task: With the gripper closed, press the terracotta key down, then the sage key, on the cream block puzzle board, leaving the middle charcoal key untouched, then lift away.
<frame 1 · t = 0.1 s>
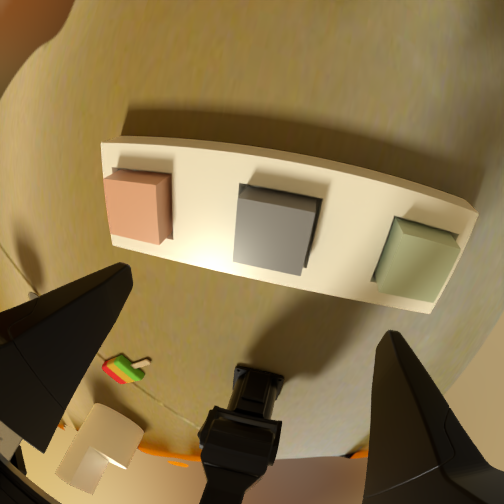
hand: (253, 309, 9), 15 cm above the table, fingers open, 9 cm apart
charcoal key: (274, 230, 20), point 3 cm above the table, slide at 0.0 cm
cylinder: (118, 419, 68), on the table
popsicle: (130, 363, 44), on the table
cream block puzzle board: (280, 212, 23), on the table
sage key: (416, 261, 19), point 3 cm above the table, slide at 0.0 cm
terracotta key: (138, 205, 22), point 3 cm above the table, slide at 0.0 cm
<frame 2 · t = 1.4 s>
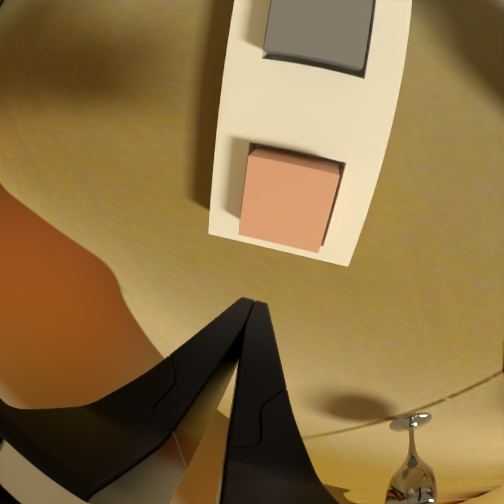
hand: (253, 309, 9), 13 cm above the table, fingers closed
charcoal key: (320, 20, 11), point 3 cm above the table, slide at 0.0 cm
cream block puzzle board: (320, 31, 14), on the table
wine glass: (410, 421, 34), on the table
terracotta key: (288, 198, 17), point 3 cm above the table, slide at 0.0 cm
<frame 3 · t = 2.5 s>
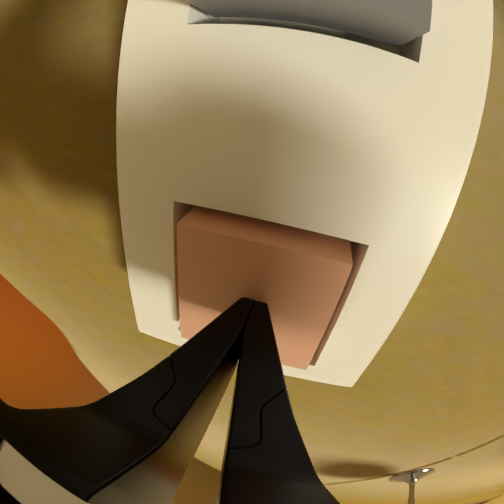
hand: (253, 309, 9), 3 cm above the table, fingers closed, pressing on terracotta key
wine glass: (412, 474, 26), on the table
terracotta key: (258, 286, 10), point 2 cm above the table, slide at 1.1 cm, touching gripper
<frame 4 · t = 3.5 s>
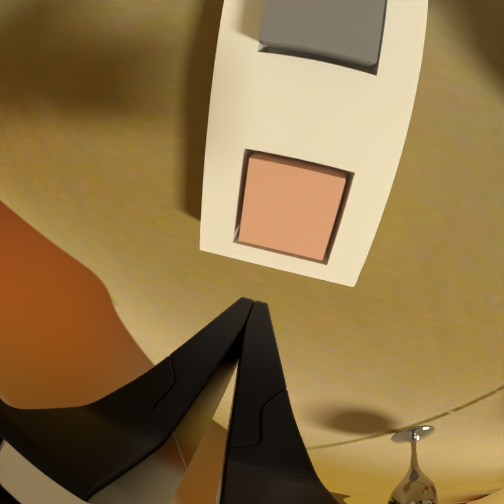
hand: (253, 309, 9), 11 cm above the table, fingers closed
charcoal key: (325, 7, 9), point 3 cm above the table, slide at 0.0 cm
cream block puzzle board: (325, 22, 12), on the table
wine glass: (413, 434, 32), on the table
terracotta key: (291, 203, 16), point 2 cm above the table, slide at 1.5 cm
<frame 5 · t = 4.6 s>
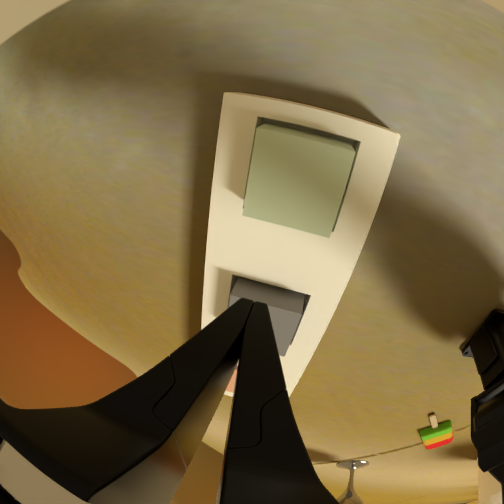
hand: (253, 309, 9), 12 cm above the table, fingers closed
charcoal key: (263, 317, 22), point 3 cm above the table, slide at 0.0 cm
cylinder: (503, 446, 36), on the table
popsicle: (435, 425, 33), on the table
cream block puzzle board: (270, 290, 24), on the table
wine glass: (352, 464, 45), on the table
sage key: (297, 177, 15), point 3 cm above the table, slide at 0.0 cm
terracotta key: (247, 375, 29), point 2 cm above the table, slide at 1.5 cm
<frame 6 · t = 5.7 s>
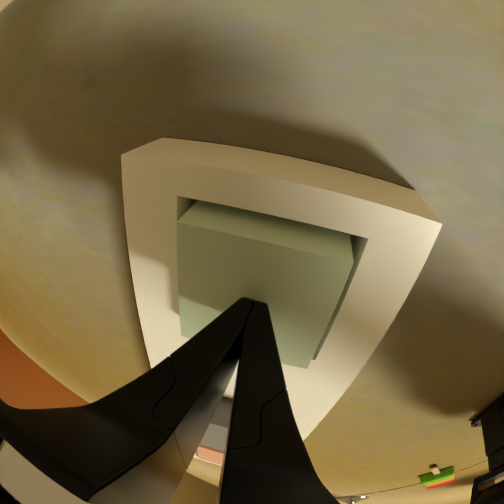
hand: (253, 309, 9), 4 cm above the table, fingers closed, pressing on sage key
charcoal key: (230, 424, 15), point 3 cm above the table, slide at 0.0 cm
popsicle: (438, 469, 26), on the table
cream block puzzle board: (242, 384, 18), on the table
wine glass: (351, 498, 38), on the table
sage key: (259, 284, 10), point 2 cm above the table, slide at 0.9 cm, touching gripper
terracotta key: (226, 449, 23), point 2 cm above the table, slide at 1.5 cm
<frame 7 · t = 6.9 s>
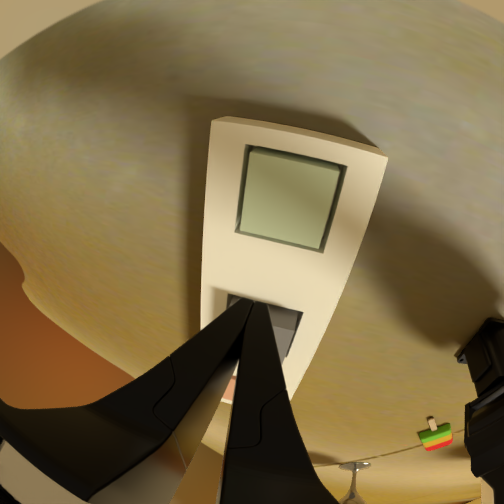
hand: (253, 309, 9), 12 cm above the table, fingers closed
charcoal key: (258, 332, 22), point 3 cm above the table, slide at 0.0 cm
popsicle: (435, 428, 33), on the table
cream block puzzle board: (266, 305, 25), on the table
wine glass: (355, 465, 45), on the table
sage key: (289, 195, 17), point 2 cm above the table, slide at 1.5 cm
terracotta key: (246, 384, 29), point 2 cm above the table, slide at 1.5 cm
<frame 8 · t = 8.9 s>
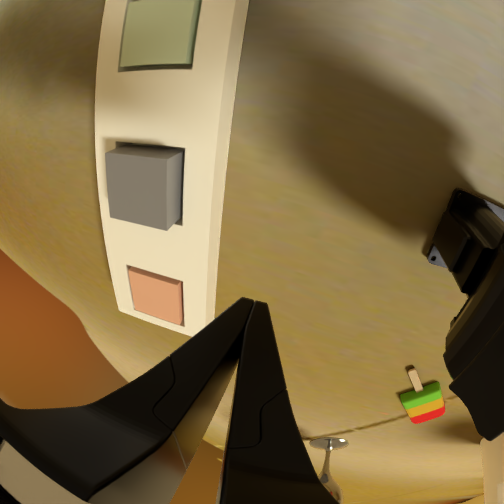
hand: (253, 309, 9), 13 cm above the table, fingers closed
charcoal key: (144, 184, 19), point 3 cm above the table, slide at 0.0 cm
popsicle: (421, 389, 30), on the table
cream block puzzle board: (165, 171, 22), on the table
wine glass: (329, 443, 42), on the table
sage key: (164, 31, 14), point 2 cm above the table, slide at 1.5 cm
terracotta key: (160, 290, 26), point 2 cm above the table, slide at 1.5 cm
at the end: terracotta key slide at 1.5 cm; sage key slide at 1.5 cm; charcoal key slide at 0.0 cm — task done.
